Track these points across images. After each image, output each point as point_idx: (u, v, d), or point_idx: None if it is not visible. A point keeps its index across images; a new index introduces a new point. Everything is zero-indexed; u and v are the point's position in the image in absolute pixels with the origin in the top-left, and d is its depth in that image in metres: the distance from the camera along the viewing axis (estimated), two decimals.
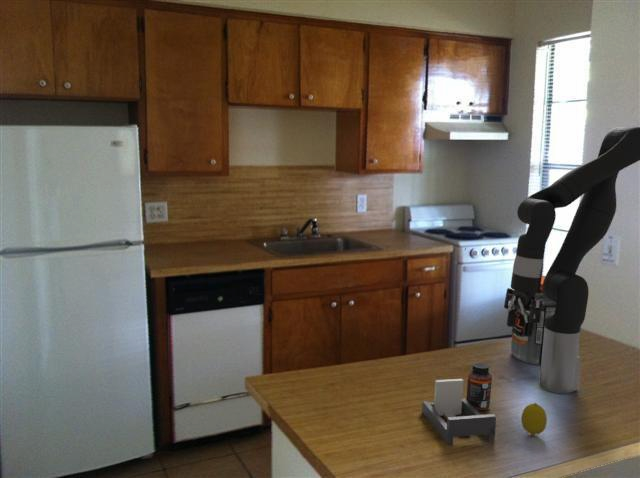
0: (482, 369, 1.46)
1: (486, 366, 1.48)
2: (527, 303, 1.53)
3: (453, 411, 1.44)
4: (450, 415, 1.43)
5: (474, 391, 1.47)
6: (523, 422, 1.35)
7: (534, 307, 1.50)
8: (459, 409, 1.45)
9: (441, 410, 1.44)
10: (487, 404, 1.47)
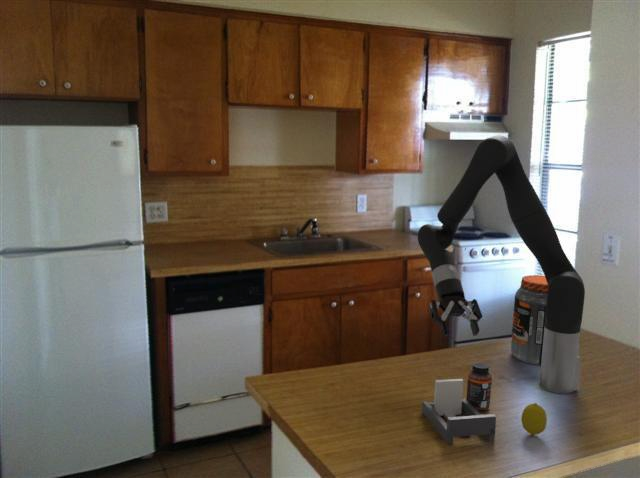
0: (482, 369, 1.46)
1: (486, 366, 1.48)
2: None
3: (453, 411, 1.44)
4: (450, 415, 1.43)
5: (474, 391, 1.47)
6: (523, 422, 1.35)
7: (430, 308, 1.62)
8: (459, 409, 1.45)
9: (441, 410, 1.44)
10: (487, 404, 1.47)
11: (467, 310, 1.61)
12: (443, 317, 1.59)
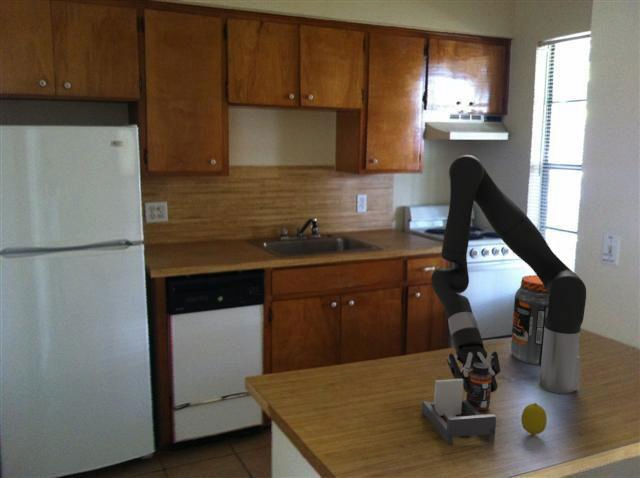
0: (482, 369, 1.46)
1: (486, 366, 1.47)
2: None
3: (453, 411, 1.44)
4: (450, 415, 1.43)
5: (474, 391, 1.47)
6: (523, 422, 1.35)
7: (448, 363, 1.52)
8: (459, 409, 1.45)
9: (441, 410, 1.44)
10: (487, 404, 1.47)
11: (485, 363, 1.51)
12: (465, 372, 1.49)
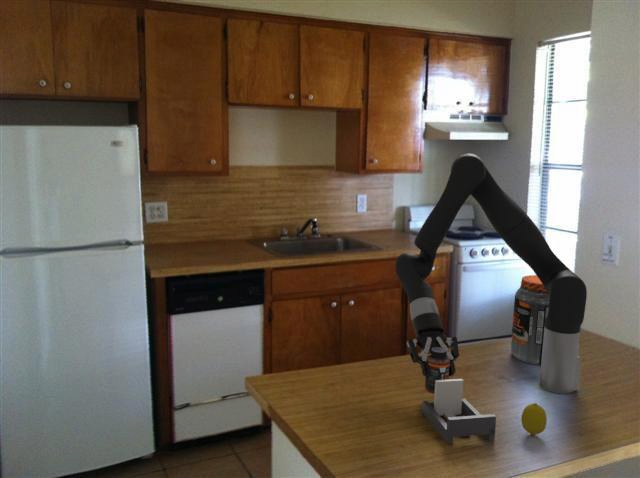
0: (440, 353, 1.48)
1: (444, 350, 1.49)
2: None
3: (453, 411, 1.44)
4: (450, 415, 1.43)
5: (432, 375, 1.48)
6: (523, 422, 1.35)
7: (408, 348, 1.53)
8: (459, 409, 1.45)
9: (441, 410, 1.44)
10: None
11: (444, 348, 1.52)
12: (423, 357, 1.50)
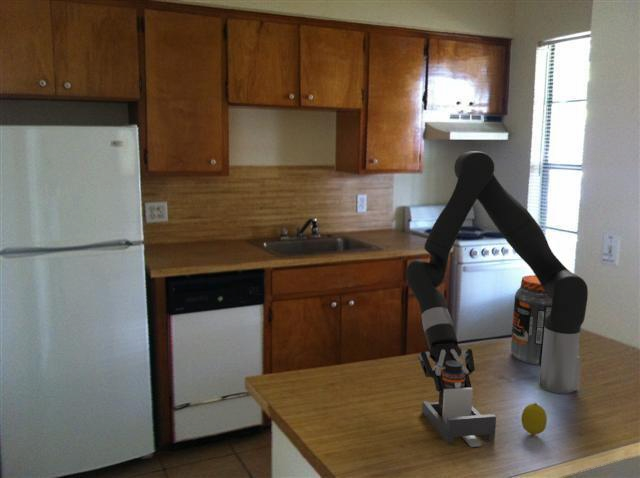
0: (455, 367, 1.39)
1: (459, 364, 1.40)
2: None
3: None
4: None
5: None
6: (523, 422, 1.35)
7: (420, 361, 1.44)
8: None
9: None
10: None
11: (459, 361, 1.43)
12: (437, 371, 1.41)
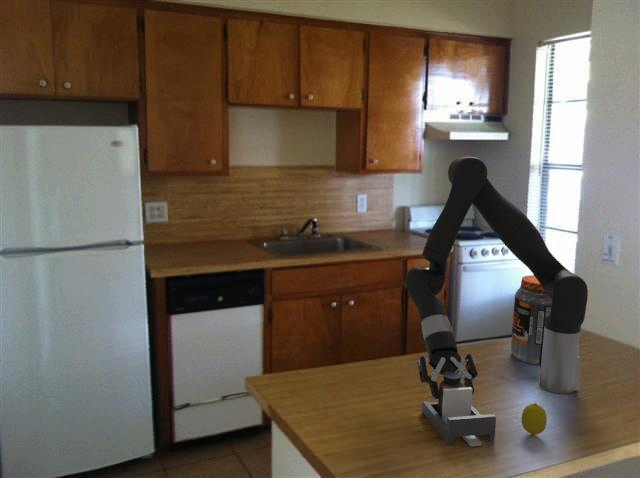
0: (453, 379, 1.40)
1: (458, 376, 1.41)
2: None
3: None
4: None
5: None
6: (523, 422, 1.35)
7: (418, 366, 1.45)
8: None
9: None
10: None
11: (460, 368, 1.43)
12: (433, 377, 1.41)
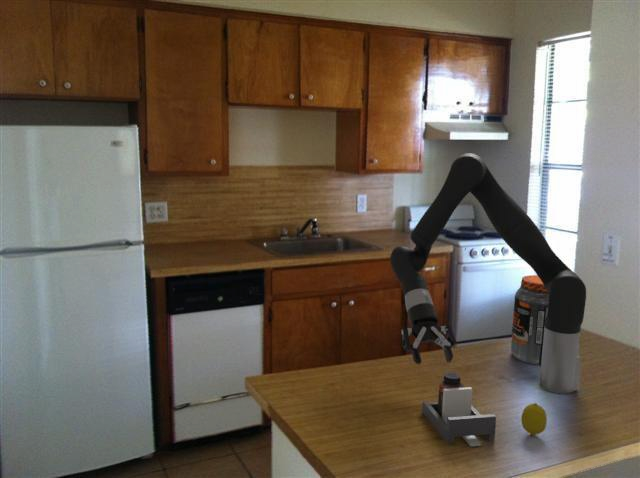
0: (453, 379, 1.40)
1: (458, 376, 1.41)
2: None
3: None
4: None
5: None
6: (523, 422, 1.35)
7: (402, 335, 1.57)
8: None
9: None
10: None
11: (440, 336, 1.56)
12: (415, 344, 1.54)
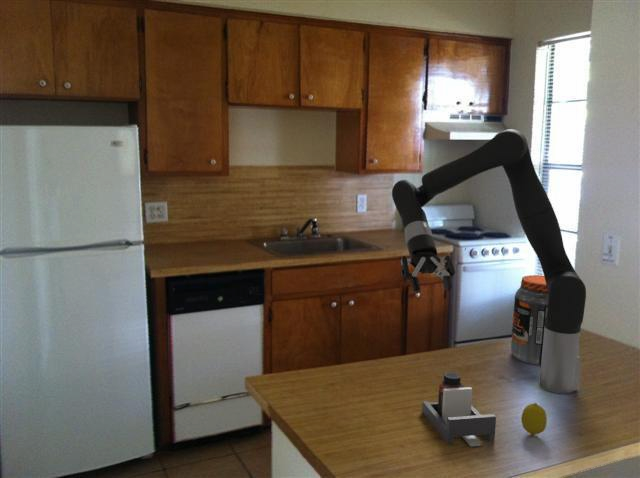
0: (453, 379, 1.40)
1: (458, 376, 1.41)
2: None
3: None
4: None
5: None
6: (523, 422, 1.35)
7: (401, 265, 1.57)
8: None
9: None
10: None
11: (439, 266, 1.56)
12: (414, 273, 1.54)
